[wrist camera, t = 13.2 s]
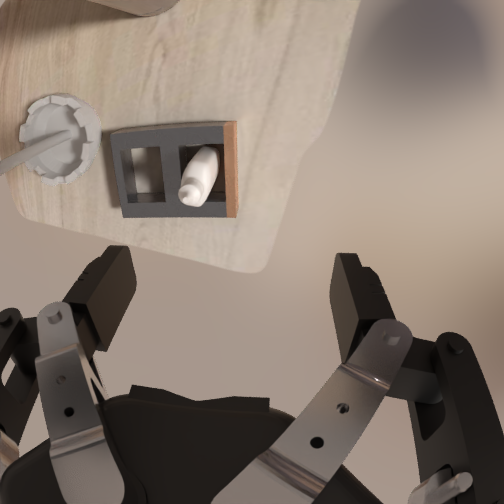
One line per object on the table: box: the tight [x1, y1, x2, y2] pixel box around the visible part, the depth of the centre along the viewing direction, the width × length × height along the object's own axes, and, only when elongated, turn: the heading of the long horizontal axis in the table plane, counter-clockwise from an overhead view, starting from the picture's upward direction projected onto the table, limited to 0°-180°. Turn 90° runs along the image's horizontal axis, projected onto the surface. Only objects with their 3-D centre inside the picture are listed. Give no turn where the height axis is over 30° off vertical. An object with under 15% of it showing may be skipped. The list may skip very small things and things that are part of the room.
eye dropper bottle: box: [178, 146, 220, 207], centre depth 36 cm, size 4×6×12 cm
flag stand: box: [0, 93, 102, 186], centre depth 26 cm, size 13×13×30 cm
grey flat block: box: [110, 121, 239, 218], centre depth 40 cm, size 12×16×4 cm
